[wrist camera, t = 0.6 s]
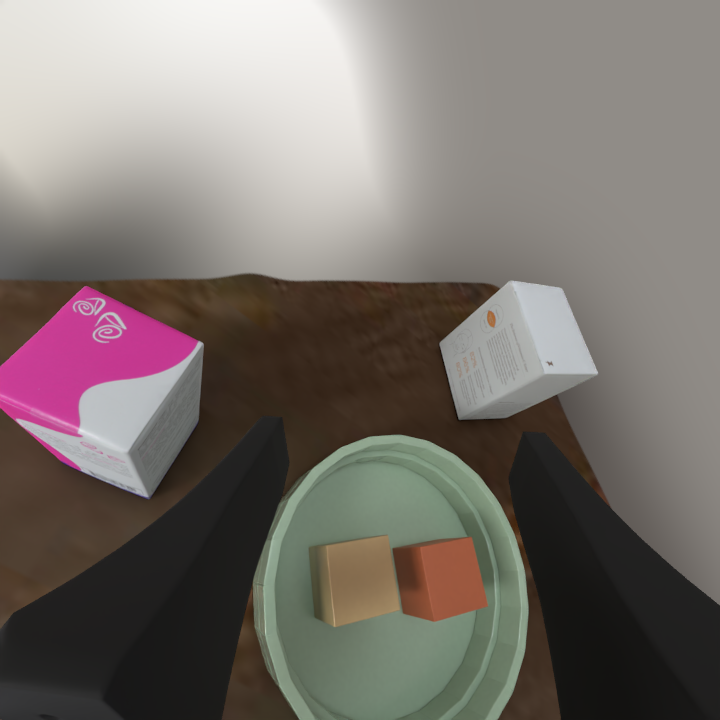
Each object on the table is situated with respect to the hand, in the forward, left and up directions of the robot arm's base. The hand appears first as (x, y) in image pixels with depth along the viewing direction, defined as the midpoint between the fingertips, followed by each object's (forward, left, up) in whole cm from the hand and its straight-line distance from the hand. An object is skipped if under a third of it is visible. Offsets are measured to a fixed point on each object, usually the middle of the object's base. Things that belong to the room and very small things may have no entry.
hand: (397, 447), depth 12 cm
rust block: (-6, -9, -17) cm, 20 cm away
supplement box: (+5, +9, -18) cm, 21 cm away
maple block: (-5, -3, -17) cm, 18 cm away
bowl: (-5, -6, -18) cm, 19 cm away
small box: (+9, -19, -18) cm, 28 cm away
